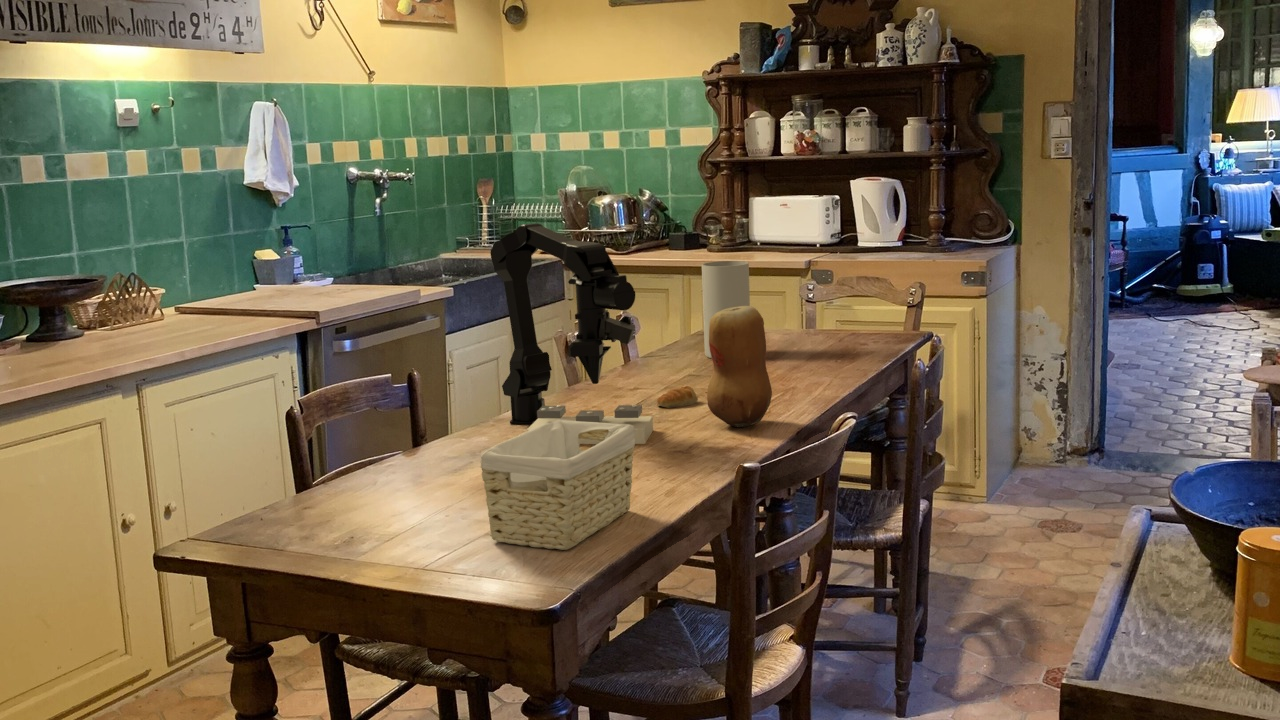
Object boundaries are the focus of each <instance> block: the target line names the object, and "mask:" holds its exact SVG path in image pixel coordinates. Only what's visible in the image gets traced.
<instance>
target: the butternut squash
mask: <svg viewBox="0 0 1280 720" xmlns="http://www.w3.org/2000/svg"><path fill="white" fill-rule="evenodd" d="M764 321H765V320H764V318H763V317H762V314H761V313H760V311H759V310H758V309H757V308H756V307H753V306H751V305H750V306H740V307H732V308H727V309H724V310H722V311H720V312H717V313H716V314H715V315H714V316H713V317H712V318H711V320H710V325H709V347H710V353H711V357H712V359H711V360H712V363H713V372H712V374H711V376H710V379H709V382H708V385H707V391H706V399H707V407H708V409H709V410H710V412H711V413H712V414H713V415H714V416H715V417H716V418H718V419H719V420H721V421H723V422H724V423H725V424H726V425H729V426H731V427H734V428H741V427H744V428H745V427H749V425H750V426H752V425H755V424H758V423H760V422H761V420H762V419H763V418H764V416H765V415H766V413H767V411H768V409H769V407H770V404H771V401H772V398H773V397H772V395H773V390H772V389H773V388H772V385H771V381H770V376H769V373H768V370H767V363H766V362H767V361H766V357H767V356H766V354H767V353H766V352H767V341H766V332H765V326H764V325H765V322H764Z"/></svg>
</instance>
